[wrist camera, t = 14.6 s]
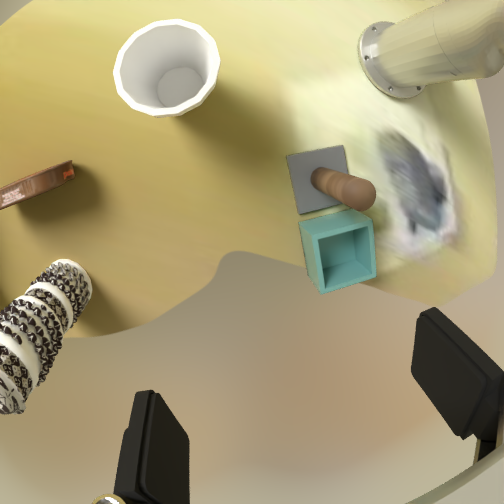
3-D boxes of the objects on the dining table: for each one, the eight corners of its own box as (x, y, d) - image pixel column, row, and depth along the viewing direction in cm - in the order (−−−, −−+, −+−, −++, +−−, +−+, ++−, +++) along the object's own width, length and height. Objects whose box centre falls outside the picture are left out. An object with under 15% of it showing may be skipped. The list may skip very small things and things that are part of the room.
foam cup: (230, 71, 33) (238, 39, 21) (199, 134, 36) (192, 130, 24) (163, 47, 31) (142, 9, 19) (133, 109, 34) (97, 97, 21)
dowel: (330, 165, 39) (373, 176, 28) (334, 187, 40) (377, 207, 29) (308, 169, 39) (345, 182, 27) (312, 192, 40) (350, 214, 29)
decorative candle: (35, 275, 39) (-53, 373, 16) (68, 244, 38) (-34, 345, 15) (70, 318, 43) (5, 433, 19) (105, 292, 42) (39, 418, 19)
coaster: (341, 145, 38) (342, 145, 38) (350, 200, 41) (352, 201, 41) (285, 156, 38) (287, 156, 38) (297, 213, 41) (299, 214, 41)
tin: (81, 156, 35) (52, 161, 27) (85, 178, 36) (58, 188, 28) (5, 185, 34) (-28, 197, 26) (10, 204, 35) (-22, 219, 27)
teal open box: (352, 208, 42) (372, 219, 36) (358, 260, 45) (376, 276, 39) (298, 222, 42) (311, 235, 36) (307, 275, 45) (320, 294, 39)
